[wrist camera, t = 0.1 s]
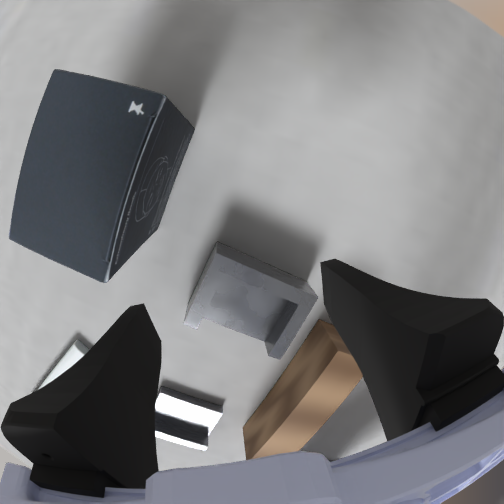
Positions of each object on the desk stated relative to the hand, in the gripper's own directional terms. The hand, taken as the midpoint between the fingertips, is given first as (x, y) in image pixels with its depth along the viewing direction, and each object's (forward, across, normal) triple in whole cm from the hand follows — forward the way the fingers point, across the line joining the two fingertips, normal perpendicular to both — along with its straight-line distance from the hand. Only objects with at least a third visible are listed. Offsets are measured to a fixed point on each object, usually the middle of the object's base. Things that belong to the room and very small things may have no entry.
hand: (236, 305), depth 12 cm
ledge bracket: (+8, +8, +16) cm, 20 cm away
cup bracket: (+10, 0, +6) cm, 11 cm away
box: (+12, +5, -5) cm, 14 cm away
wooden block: (+8, -2, +16) cm, 18 cm away
